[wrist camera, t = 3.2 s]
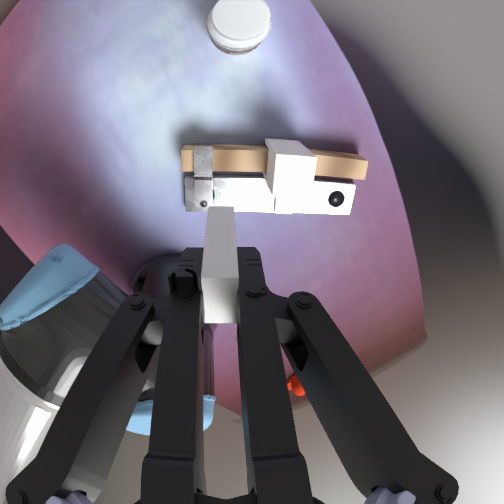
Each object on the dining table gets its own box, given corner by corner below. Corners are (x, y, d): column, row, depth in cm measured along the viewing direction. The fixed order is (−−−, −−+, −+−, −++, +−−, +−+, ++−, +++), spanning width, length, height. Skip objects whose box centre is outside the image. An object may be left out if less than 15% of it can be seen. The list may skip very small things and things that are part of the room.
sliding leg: (260, 196, 35) (269, 225, 29) (265, 138, 31) (276, 154, 25) (291, 197, 36) (306, 226, 29) (298, 140, 31) (317, 157, 25)
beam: (185, 164, 32) (181, 171, 30) (184, 144, 31) (181, 150, 28) (355, 172, 34) (364, 179, 32) (358, 154, 33) (368, 161, 31)
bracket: (308, 361, 59) (313, 379, 55) (321, 363, 60) (326, 381, 56) (281, 384, 64) (284, 401, 60) (293, 386, 65) (296, 403, 61)
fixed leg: (197, 199, 34) (195, 207, 32) (196, 142, 30) (194, 147, 28) (213, 199, 34) (212, 207, 32) (213, 142, 30) (212, 147, 28)
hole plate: (186, 208, 36) (185, 211, 35) (185, 175, 33) (184, 178, 32) (346, 211, 38) (349, 215, 37) (353, 182, 35) (356, 185, 34)
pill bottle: (226, 6, 21) (226, -23, 13) (271, 26, 23) (289, 4, 15) (201, 44, 24) (191, 28, 16) (247, 64, 26) (256, 55, 18)
